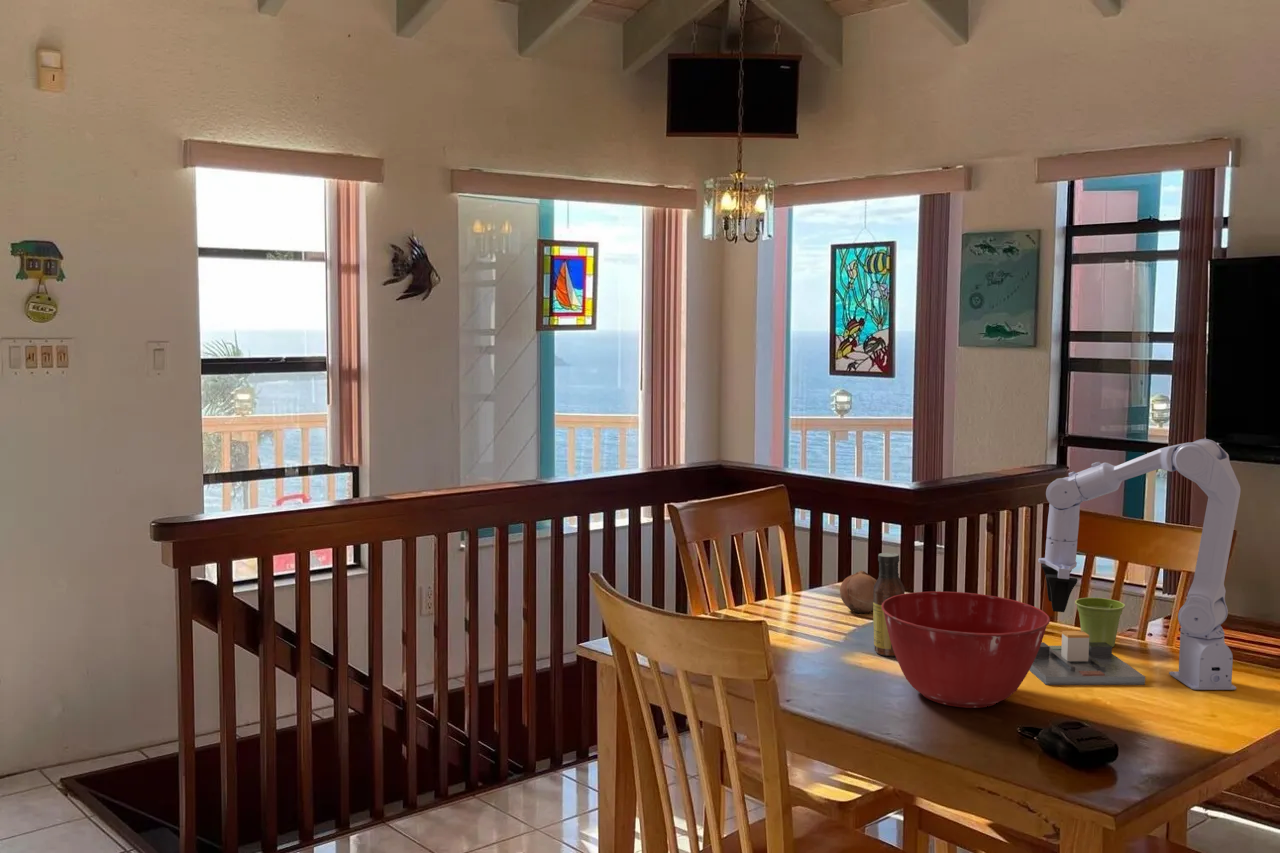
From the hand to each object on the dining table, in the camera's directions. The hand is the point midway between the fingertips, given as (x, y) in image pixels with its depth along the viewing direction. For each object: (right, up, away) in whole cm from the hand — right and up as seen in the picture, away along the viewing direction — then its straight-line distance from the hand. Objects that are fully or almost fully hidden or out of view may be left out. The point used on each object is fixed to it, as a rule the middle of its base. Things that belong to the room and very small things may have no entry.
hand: (1056, 606), depth 230 cm
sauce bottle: (-33, -10, +1) cm, 34 cm away
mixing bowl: (-25, -12, -24) cm, 37 cm away
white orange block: (0, -9, -8) cm, 12 cm away
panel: (0, -10, -8) cm, 13 cm away
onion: (-32, -7, +34) cm, 47 cm away
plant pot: (+11, -9, +8) cm, 17 cm away
